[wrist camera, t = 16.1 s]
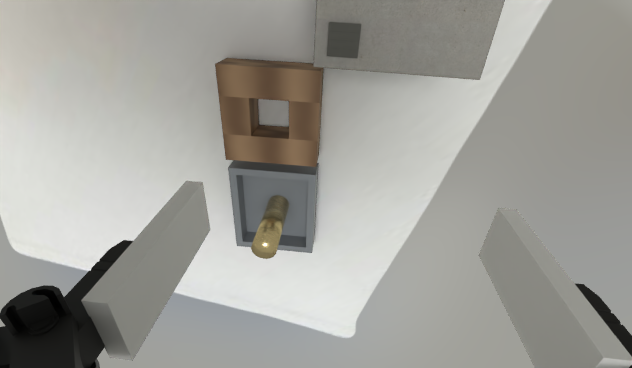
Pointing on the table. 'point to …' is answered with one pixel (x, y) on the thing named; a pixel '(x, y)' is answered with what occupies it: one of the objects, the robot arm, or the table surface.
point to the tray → (259, 186)
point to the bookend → (406, 36)
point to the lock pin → (270, 227)
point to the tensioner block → (274, 84)
